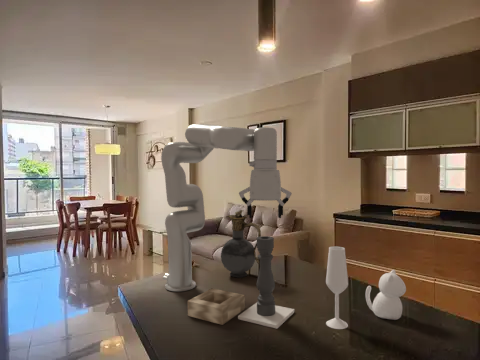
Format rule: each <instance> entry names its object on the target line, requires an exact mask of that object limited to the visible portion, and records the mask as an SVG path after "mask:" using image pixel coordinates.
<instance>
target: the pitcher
mask: <svg viewBox="0 0 480 360" xmlns="http://www.w3.org/2000/svg"><path fill="white" fill-rule="evenodd" d="M243 212H244V210H243V209H240V210H239V211H235V213H234V214H230V215H226V216H225V218H229V219H230V220H231V224H232V227H231V230H232V238H231V239H229V240H228V241H226V242H225V243H224V245H223V246H222V249H221V252H220V260H221V263H222V265H223V267H224V268H225V269H226V271H229V272H230V273H229V276H230V277H232V278H238V279H239V278H241V279H242V278H245V277H247V275H248V273H247V272H248V271H249V270H251V268H252V267H253V266H254V263H255V262H256V263H257V264H259V265H260V261H259V259H258V257H257V256H256V255H257V254H256V250H257V242H256V243H255V246H254V245H253V243H252V242H250V241H249V240H247V239H246V238H245V237H244V230H245V228H249V227H253V228H255V229H256V230H257V237H260V236H262V232H261V228H260V226H259V225H258V224H257V223H255V222H249V223H247V222H246V221H245V220H246V219H247V218H248V217H249V215H247V214H244V215H242V213H243Z"/></svg>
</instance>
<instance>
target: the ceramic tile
mask: <svg viewBox="0 0 480 360" xmlns="http://www.w3.org/2000/svg"><path fill="white" fill-rule="evenodd" d="M294 313H295V308H290V307H284V306H281V305H276V304H275V314H274V315H272V316H261V315H258V314H257V302H255V303H254V304H252V305H251V306H250V307H248V308H247V309H245V310H243V311H242V312H240V313H239V314H238V315H237V319H238V320H241V321H245V322H249V323H252V324H255V325H256V324H257V325H260V326H264V327H268V328H272V329H279V328H280V327H281V326H282V325H283V323H285V322H286V321H287V320H288V319H289V318H290V317H291V316H292V315H293V314H294Z"/></svg>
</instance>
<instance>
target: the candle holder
mask: <svg viewBox="0 0 480 360" xmlns="http://www.w3.org/2000/svg"><path fill="white" fill-rule="evenodd" d="M274 240H275V237H273V236H271V235H270V236H269V235H267V236H266V235H265V236H263V235H261V236H260V237H258V236H257V237H256V243H257V247H256V249H257V251H258V253H259V254H258V255H257V259H258V261H259V270H258V275H257V281H256V288H257V290H258V291H259V292H258V293H259V295H258V296H257V297H256V298H257V301H256V303H257V314H258V315H261V316H272V315H274V314H275V305H276V301H275V296H274V295H273V294H274V293H273V291H274V290H275V287H276V283H275V279H274V275H273V271H272V260H273V259H274V255H273V254H272V253H273V251H274V247H275V241H274Z"/></svg>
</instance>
